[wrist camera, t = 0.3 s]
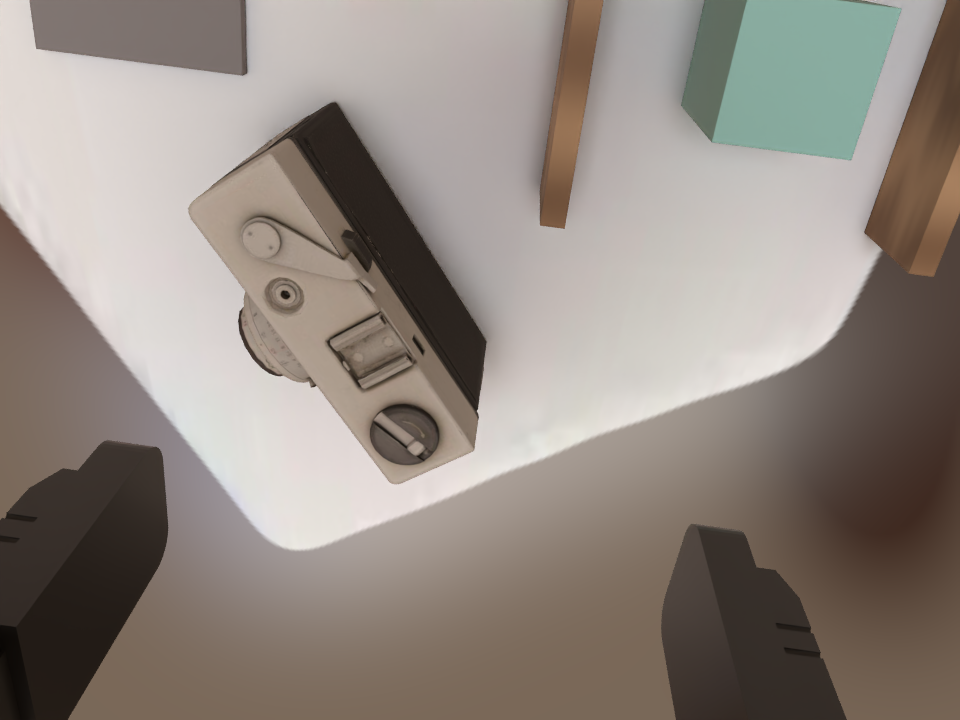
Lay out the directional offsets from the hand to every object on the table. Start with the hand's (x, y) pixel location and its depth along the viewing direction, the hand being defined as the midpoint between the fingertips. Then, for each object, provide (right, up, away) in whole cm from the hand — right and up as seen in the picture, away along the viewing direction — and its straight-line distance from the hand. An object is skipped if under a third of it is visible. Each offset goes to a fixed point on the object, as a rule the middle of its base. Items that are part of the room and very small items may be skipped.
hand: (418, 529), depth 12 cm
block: (+12, +16, +21) cm, 29 cm away
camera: (-5, +7, +27) cm, 29 cm away
